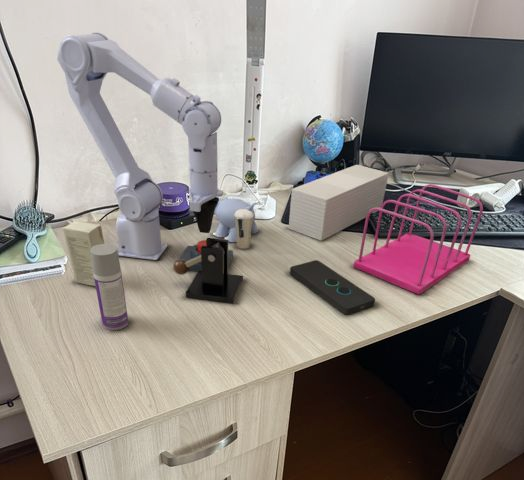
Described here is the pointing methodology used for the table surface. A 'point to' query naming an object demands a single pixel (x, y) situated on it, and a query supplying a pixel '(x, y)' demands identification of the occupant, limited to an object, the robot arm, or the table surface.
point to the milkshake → (243, 227)
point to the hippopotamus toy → (231, 217)
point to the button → (200, 244)
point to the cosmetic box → (82, 248)
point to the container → (109, 286)
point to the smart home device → (332, 287)
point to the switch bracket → (215, 275)
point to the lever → (189, 262)
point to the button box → (193, 252)
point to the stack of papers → (336, 201)
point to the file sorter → (416, 247)
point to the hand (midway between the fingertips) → (205, 231)
